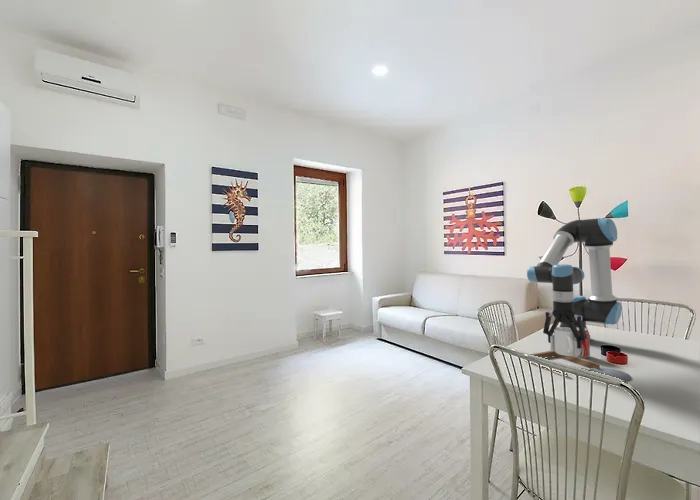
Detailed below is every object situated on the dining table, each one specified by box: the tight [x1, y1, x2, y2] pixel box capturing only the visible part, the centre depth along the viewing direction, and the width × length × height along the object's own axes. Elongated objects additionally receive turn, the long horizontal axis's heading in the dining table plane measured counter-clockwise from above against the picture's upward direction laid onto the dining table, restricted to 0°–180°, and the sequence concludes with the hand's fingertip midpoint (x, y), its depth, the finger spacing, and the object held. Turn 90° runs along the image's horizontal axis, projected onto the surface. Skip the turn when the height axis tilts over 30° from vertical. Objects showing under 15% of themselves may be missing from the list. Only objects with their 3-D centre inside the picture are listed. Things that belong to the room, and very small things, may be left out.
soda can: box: [574, 327, 591, 359], centre depth 157 cm, size 7×7×13 cm
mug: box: [553, 326, 576, 356], centre depth 144 cm, size 12×8×10 cm
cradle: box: [529, 350, 600, 377], centre depth 147 cm, size 20×19×2 cm
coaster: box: [589, 367, 632, 382], centre depth 135 cm, size 13×13×1 cm
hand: (564, 352), depth 145 cm, fingers closed on mug, 9 cm apart
